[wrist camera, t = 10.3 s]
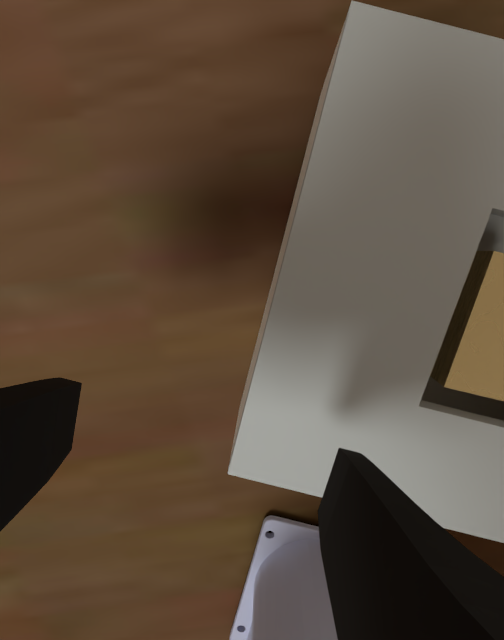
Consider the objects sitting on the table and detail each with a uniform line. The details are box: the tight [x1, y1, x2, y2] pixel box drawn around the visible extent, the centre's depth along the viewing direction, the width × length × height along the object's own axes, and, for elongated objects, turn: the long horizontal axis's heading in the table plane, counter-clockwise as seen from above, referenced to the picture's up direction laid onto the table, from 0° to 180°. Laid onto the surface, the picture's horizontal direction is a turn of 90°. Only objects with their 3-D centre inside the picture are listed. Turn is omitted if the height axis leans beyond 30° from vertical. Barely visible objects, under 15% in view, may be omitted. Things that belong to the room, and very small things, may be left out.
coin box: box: [228, 1, 504, 543], centre depth 15 cm, size 16×16×6 cm
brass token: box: [430, 251, 504, 401], centre depth 15 cm, size 5×2×5 cm, turn 167°
